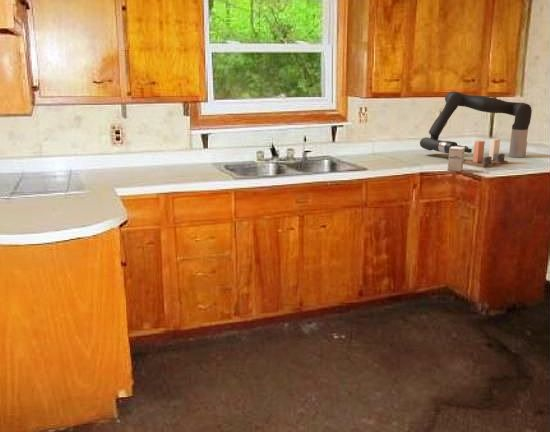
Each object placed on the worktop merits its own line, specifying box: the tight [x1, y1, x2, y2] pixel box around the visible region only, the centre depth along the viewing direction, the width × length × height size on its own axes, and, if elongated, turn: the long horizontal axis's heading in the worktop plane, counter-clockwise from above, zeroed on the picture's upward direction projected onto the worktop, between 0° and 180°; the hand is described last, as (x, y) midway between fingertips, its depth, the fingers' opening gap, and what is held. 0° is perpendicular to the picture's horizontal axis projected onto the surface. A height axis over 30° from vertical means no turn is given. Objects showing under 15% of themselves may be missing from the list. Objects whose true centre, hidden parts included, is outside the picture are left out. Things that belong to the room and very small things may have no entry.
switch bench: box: [463, 153, 509, 168], centre depth 314 cm, size 22×14×6 cm, turn 121°
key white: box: [488, 138, 501, 160], centre depth 316 cm, size 5×3×12 cm, turn 121°
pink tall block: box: [472, 140, 486, 163], centre depth 309 cm, size 5×3×12 cm, turn 121°
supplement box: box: [447, 146, 465, 172], centre depth 297 cm, size 7×7×13 cm
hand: (470, 150), depth 314 cm, fingers closed
